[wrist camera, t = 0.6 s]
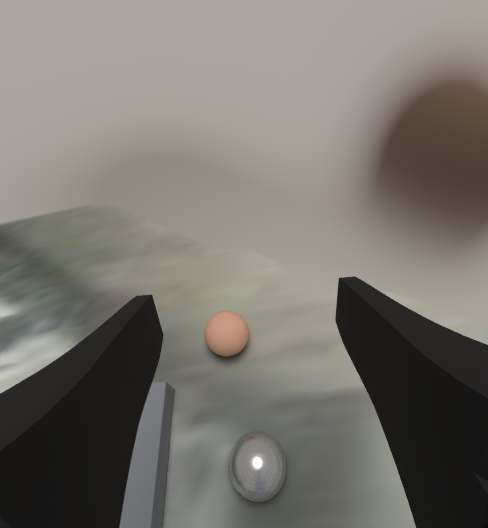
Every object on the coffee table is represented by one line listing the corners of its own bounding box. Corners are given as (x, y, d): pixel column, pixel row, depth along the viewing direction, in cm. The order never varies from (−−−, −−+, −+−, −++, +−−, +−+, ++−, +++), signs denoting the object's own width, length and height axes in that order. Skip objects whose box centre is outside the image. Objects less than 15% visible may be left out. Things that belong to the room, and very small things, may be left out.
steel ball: (289, 498, 21) (291, 501, 18) (233, 502, 21) (225, 505, 18) (281, 434, 23) (283, 425, 20) (231, 437, 23) (224, 430, 20)
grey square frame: (152, 637, 17) (136, 657, 15) (-74, 649, 18) (-117, 669, 16) (174, 389, 26) (166, 381, 24) (21, 401, 26) (0, 394, 24)
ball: (251, 360, 27) (248, 344, 24) (208, 364, 27) (199, 348, 24) (248, 321, 29) (245, 301, 26) (209, 324, 29) (201, 305, 26)
